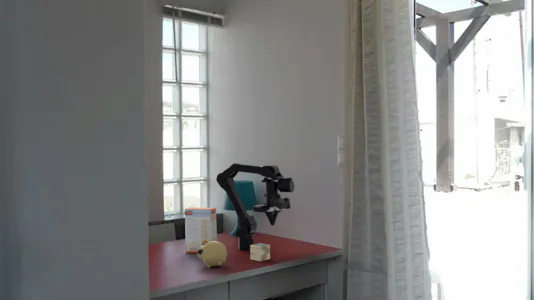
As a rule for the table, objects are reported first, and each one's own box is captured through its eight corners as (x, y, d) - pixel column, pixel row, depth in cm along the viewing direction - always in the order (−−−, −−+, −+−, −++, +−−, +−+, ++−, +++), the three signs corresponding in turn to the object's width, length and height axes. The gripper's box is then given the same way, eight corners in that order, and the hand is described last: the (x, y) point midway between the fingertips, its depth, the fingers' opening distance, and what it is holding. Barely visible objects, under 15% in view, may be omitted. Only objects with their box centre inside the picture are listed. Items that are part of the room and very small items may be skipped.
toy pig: (203, 263, 213) (203, 238, 213) (230, 264, 210) (229, 239, 210) (194, 268, 204) (193, 242, 204) (221, 270, 200) (221, 243, 200)
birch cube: (269, 244, 216) (270, 259, 216) (260, 243, 220) (260, 257, 220) (259, 246, 212) (259, 261, 212) (250, 245, 216) (250, 259, 216)
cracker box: (217, 252, 234) (216, 207, 234) (211, 255, 229) (210, 209, 229) (192, 250, 240) (191, 206, 240) (185, 252, 235) (184, 208, 235)
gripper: (268, 194, 222) (269, 229, 222) (298, 191, 235) (299, 224, 235) (252, 193, 230) (253, 227, 230) (281, 190, 243) (282, 222, 243)
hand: (272, 225), depth 234 cm, fingers closed
